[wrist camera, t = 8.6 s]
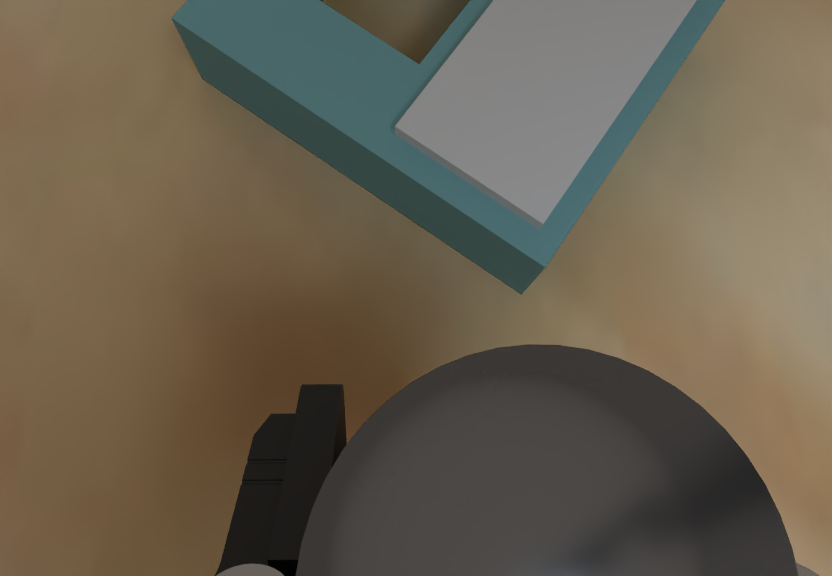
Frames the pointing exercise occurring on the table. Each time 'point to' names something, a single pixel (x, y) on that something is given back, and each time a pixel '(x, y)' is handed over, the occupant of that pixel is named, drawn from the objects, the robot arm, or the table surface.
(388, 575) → the dark grey cylinder
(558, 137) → the jig
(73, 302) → the table surface
